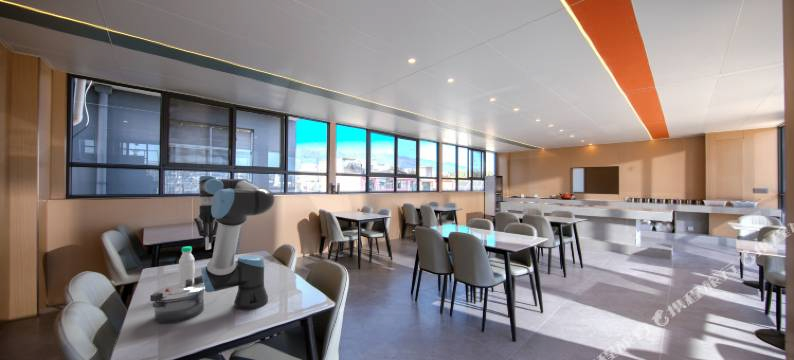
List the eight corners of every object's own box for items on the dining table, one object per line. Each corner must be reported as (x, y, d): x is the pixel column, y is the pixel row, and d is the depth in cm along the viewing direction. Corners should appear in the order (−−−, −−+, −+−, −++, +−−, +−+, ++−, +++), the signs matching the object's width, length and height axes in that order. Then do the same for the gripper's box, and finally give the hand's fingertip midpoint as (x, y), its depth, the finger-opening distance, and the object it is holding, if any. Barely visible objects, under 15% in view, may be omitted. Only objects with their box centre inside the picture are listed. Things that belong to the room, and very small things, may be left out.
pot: (173, 328, 121) (173, 304, 121) (138, 323, 125) (138, 300, 125) (224, 302, 147) (224, 282, 147) (193, 299, 151) (193, 280, 151)
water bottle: (197, 290, 163) (197, 246, 163) (184, 295, 156) (184, 248, 157) (188, 289, 165) (188, 245, 166) (175, 293, 159) (175, 247, 159)
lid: (171, 304, 120) (171, 294, 120) (134, 300, 124) (134, 291, 124) (226, 281, 148) (226, 273, 148) (194, 278, 152) (194, 271, 152)
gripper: (190, 205, 150) (191, 251, 150) (217, 204, 151) (217, 250, 151) (198, 204, 157) (199, 248, 157) (224, 204, 159) (224, 247, 159)
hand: (208, 249), depth 154 cm, fingers closed
